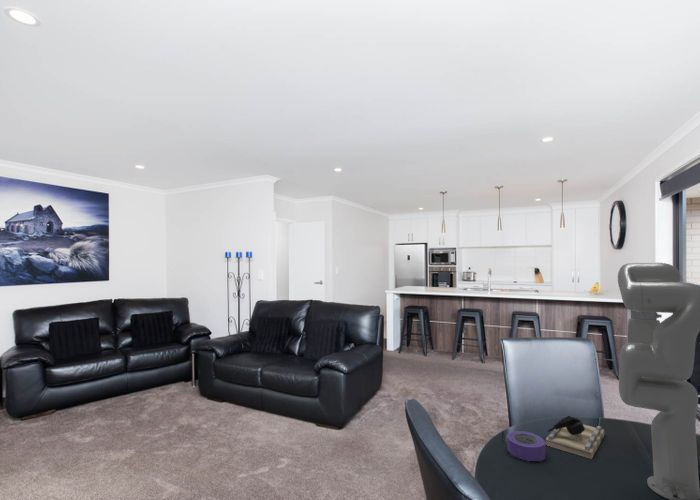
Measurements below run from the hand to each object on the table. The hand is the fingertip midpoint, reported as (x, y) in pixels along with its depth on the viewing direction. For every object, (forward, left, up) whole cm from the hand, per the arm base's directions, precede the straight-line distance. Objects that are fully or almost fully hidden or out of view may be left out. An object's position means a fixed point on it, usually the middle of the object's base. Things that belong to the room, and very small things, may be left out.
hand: (646, 365), depth 133 cm
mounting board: (-18, +20, -27) cm, 38 cm away
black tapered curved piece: (-23, +22, -24) cm, 40 cm away
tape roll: (-40, +30, -28) cm, 57 cm away
